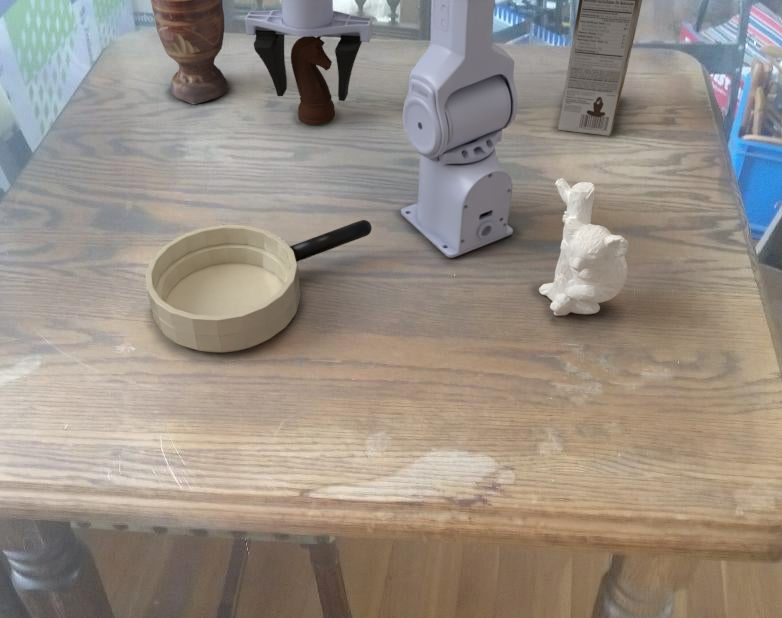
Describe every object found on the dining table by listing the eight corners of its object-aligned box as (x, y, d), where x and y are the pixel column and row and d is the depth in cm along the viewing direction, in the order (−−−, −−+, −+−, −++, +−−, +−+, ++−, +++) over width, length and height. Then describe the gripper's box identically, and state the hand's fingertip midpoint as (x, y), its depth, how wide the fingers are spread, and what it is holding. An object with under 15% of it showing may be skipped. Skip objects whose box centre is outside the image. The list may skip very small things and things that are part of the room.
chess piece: (329, 128, 105) (325, 47, 97) (289, 123, 106) (282, 43, 99) (339, 109, 108) (337, 29, 100) (301, 105, 109) (295, 25, 101)
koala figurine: (515, 290, 83) (532, 182, 74) (572, 268, 85) (595, 160, 76) (571, 343, 78) (596, 233, 69) (630, 318, 79) (662, 208, 70)
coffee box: (567, 93, 108) (590, -43, 96) (620, 99, 106) (650, -39, 94) (556, 131, 102) (579, -10, 90) (612, 137, 100) (643, -5, 88)
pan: (325, 322, 81) (323, 284, 78) (188, 377, 77) (179, 340, 74) (260, 245, 90) (256, 208, 86) (134, 291, 86) (124, 254, 82)
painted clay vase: (151, 75, 116) (118, -88, 102) (210, 59, 119) (187, -103, 104) (181, 112, 109) (150, -58, 94) (243, 94, 111) (223, -74, 97)
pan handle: (288, 268, 83) (287, 255, 82) (281, 259, 84) (280, 246, 83) (374, 236, 86) (374, 222, 85) (366, 228, 87) (366, 214, 86)
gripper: (377, -34, 96) (377, 82, 106) (252, -40, 98) (264, 74, 108) (365, -8, 91) (366, 111, 101) (234, -15, 94) (248, 102, 104)
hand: (312, 94), depth 105 cm, fingers open, 7 cm apart
